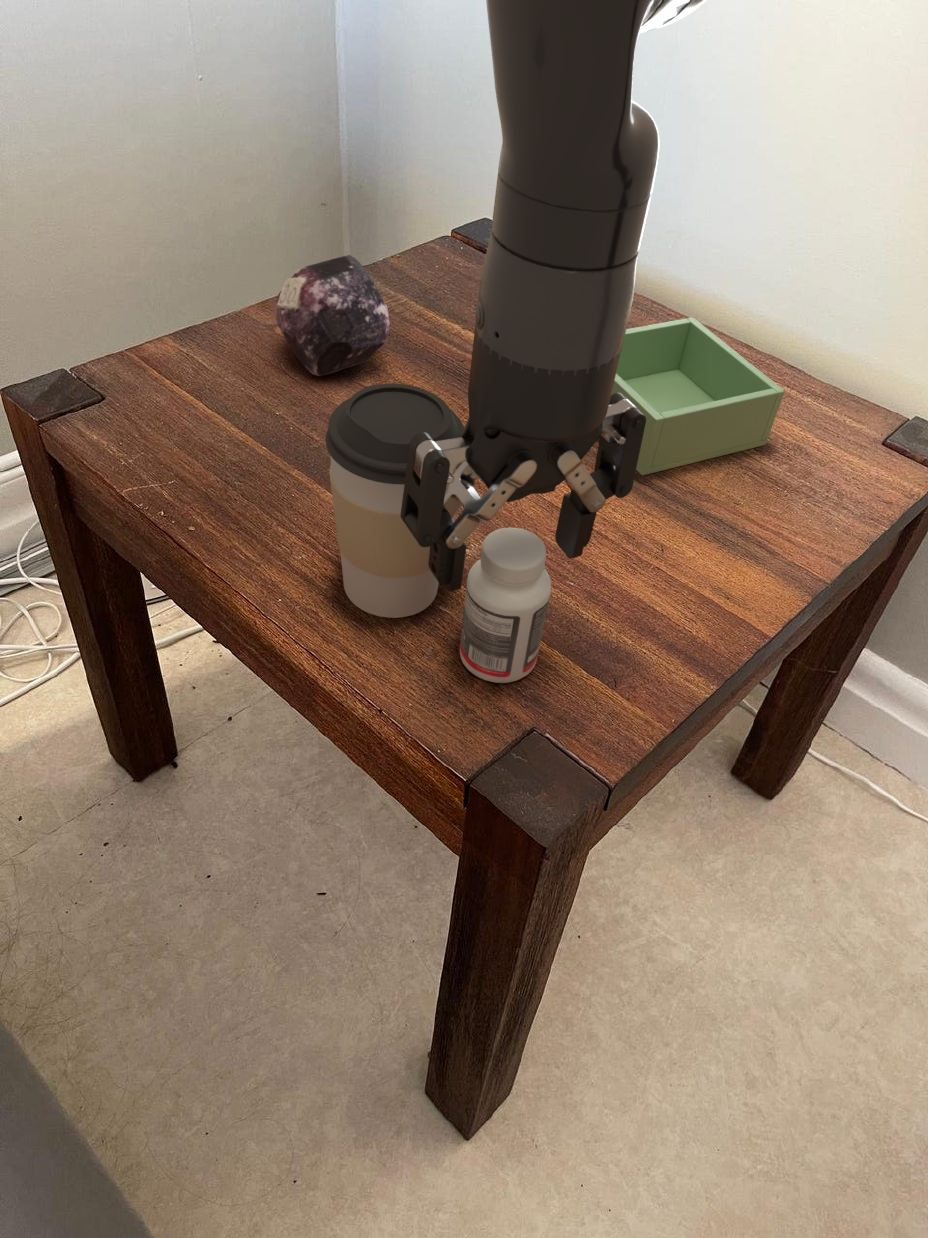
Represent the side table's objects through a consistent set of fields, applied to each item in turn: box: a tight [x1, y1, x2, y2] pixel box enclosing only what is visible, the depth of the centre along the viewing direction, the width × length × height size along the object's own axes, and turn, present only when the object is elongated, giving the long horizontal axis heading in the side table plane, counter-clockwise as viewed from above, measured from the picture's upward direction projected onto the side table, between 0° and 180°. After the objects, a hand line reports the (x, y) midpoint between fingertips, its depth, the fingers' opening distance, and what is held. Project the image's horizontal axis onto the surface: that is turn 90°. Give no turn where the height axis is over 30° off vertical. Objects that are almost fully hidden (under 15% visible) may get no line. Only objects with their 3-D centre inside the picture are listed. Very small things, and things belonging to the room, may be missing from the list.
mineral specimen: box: [275, 254, 390, 377], centre depth 88 cm, size 10×10×10 cm
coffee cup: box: [324, 383, 465, 619], centre depth 65 cm, size 9×9×15 cm
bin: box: [611, 316, 786, 476], centre depth 87 cm, size 14×14×6 cm
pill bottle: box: [459, 527, 552, 684], centre depth 63 cm, size 5×5×10 cm
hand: (509, 565), depth 60 cm, fingers open, 8 cm apart
